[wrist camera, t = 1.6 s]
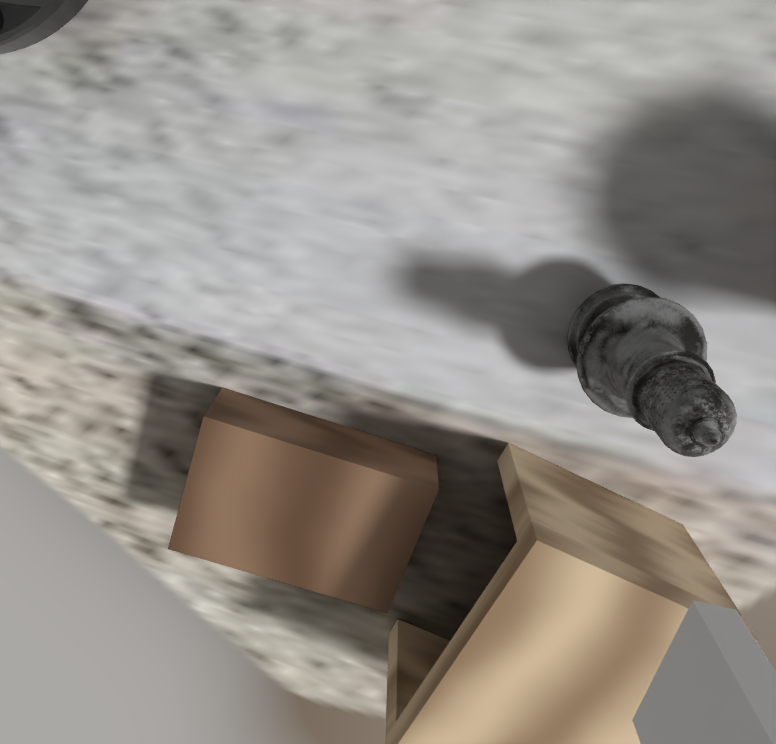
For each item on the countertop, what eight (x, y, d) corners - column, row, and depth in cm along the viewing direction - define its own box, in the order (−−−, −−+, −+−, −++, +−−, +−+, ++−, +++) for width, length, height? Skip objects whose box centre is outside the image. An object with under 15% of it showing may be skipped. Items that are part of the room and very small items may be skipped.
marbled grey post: (538, 356, 36) (597, 471, 25) (605, 256, 34) (700, 333, 23) (633, 408, 37) (730, 541, 26) (703, 313, 35) (841, 413, 24)
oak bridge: (388, 633, 43) (384, 763, 34) (508, 442, 38) (536, 540, 30) (548, 699, 44) (582, 839, 36) (682, 524, 40) (757, 639, 31)
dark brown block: (190, 507, 40) (167, 548, 37) (223, 384, 38) (203, 416, 34) (389, 566, 42) (387, 612, 38) (435, 452, 39) (438, 489, 35)
